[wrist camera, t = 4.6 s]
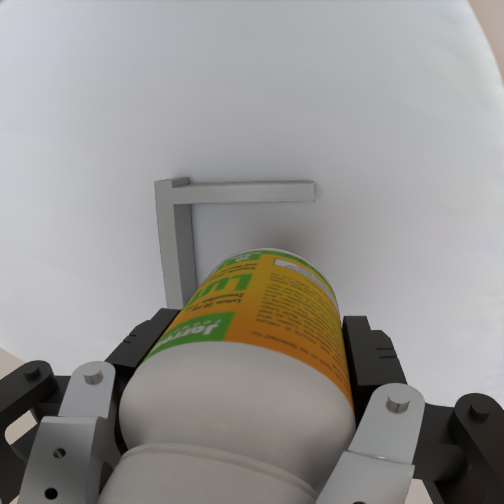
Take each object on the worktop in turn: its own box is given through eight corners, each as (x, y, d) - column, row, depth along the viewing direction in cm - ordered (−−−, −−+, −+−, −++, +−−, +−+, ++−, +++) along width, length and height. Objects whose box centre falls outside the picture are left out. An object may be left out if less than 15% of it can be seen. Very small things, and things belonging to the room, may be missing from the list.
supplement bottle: (259, 214, 11) (103, 424, 2) (365, 305, 12) (428, 552, 3) (178, 311, 13) (39, 498, 4) (275, 384, 14) (233, 591, 4)
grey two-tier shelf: (172, 178, 22) (154, 181, 19) (313, 173, 20) (314, 175, 17) (197, 394, 27) (187, 416, 24) (304, 403, 25) (303, 427, 23)
